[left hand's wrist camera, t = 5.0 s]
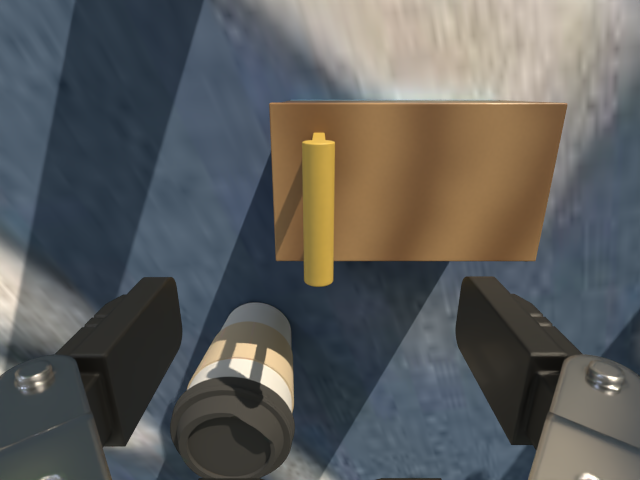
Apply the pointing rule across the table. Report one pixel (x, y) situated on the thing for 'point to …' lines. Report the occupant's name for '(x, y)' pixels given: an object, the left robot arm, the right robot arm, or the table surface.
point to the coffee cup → (239, 399)
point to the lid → (410, 181)
